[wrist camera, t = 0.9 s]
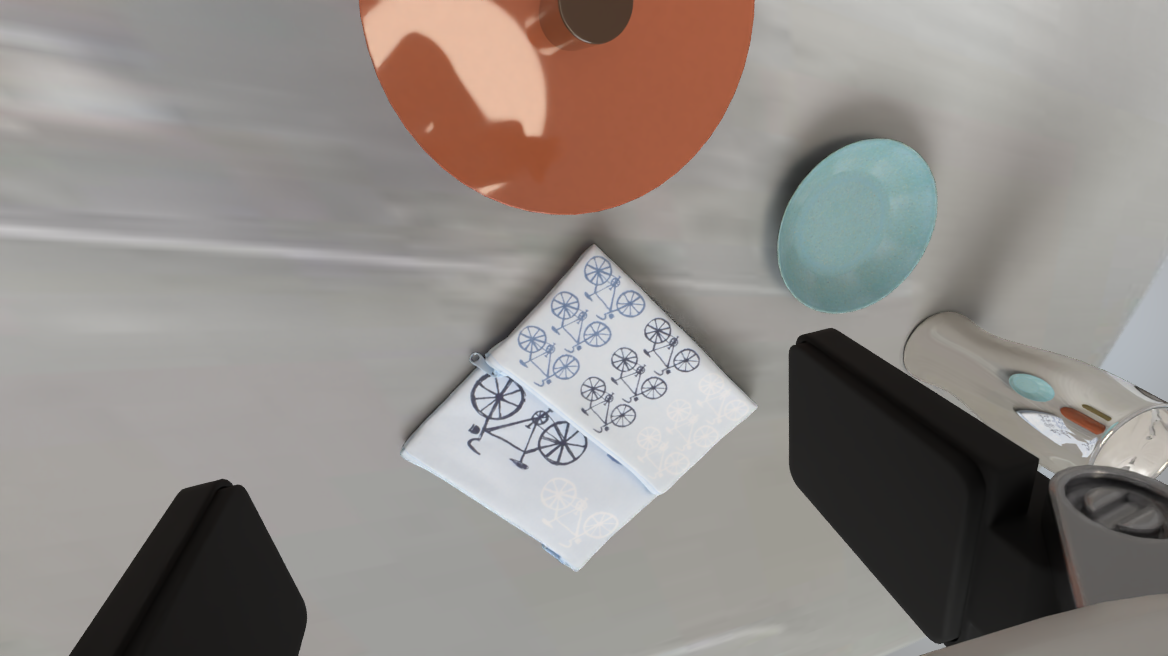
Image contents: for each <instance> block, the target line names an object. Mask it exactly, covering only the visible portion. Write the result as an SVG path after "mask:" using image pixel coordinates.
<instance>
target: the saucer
mask: <svg viewBox="0 0 1168 656" xmlns="http://www.w3.org/2000/svg"><path fill="white" fill-rule="evenodd" d="M936 217H937V189H936V184H935V179H934V177H933V175H932V172H931V170H930V168H929V166H928V165H927V163H926V162H925V160H924V159H923V158H922V157H921V156H920V155H919V154H918V153H917V152H916V151H915V150H914V149H912V148H911V147H909V146H908V145H906V144H903V142H900V141H897V140H892V139H886V138H873V139H865V140H861V141H857V142H854V143H851V144H849V145H846V146H844V147H842V148H840V149H838V150H837V151H835V152H833V153H831V154H830V155H828V156H827V157H826V158H825V159H823V160H822V161H821V162H820V163H819V164H818V165H816V166H815V167H814V168H813V169H812V170H811V171H810V172H809V173H808V175H807V176H806V177H805V178H804V179H803V181H802V182H801V183H800V184H799V186H798V187H797V189H796V191H795V192H794V194H793V195H792V197H791V199H790V201H789V202H788V204H787V207H786V210H785V212H784V215H783V217H782V221H781V224H780V229H779V234H778V242H777V257H778V264H779V269H780V272H781V275H782V279H783V280H784V283H785V284H786V286H787V288H788V290H789V291H790V292H791V293H792V294H793V296H794V297H795V298H796V299H797V300H798V301H800V302H801V303H802V304H804V305H806V306H807V307H809V308H812V309H813V310H815V311H816V310H817V311H820V312H824V313H830V314H831V313H832V314H838V313H847V312H853V311H856V310H859V309H863V308H865V307H868V306H870V305H872V304H874V303H876V302H878V301H880V300H881V299H883V298H884V297H886V296H887V295H888V294H890V293H891V292H892V291H893V290H894V289H896V288H897V287H898V286H899V285H900V284H901V283H902V282H903V281H904V280H905V279H906V278H907V277H908V276H909V275H910V273H911V272H912V270H913V269H914V268H915V267H916V265H917V264H918V262H919V261H920V259H921V257H922V256H923V254H924V252H925V250H926V248H927V246H928V244H929V241H930V239H931V236H932V232H933V230H934V227H935V222H936Z"/></svg>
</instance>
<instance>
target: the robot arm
mask: <svg viewBox="0 0 1168 656" xmlns="http://www.w3.org/2000/svg"><path fill="white" fill-rule="evenodd" d="M1038 463H1039V458H1038V457H1036V456H1034V455H1033V454H1031V453H1030V452H1028V451H1026V450H1025V449H1023V448H1022V447H1020V446H1019V445H1017V444H1015V443H1014V442H1012V441H1011V440H1009V439H1008V438H1006V437H1004V436H1003V435H1001V434H1000V433H998V432H997V431H995V430H993V429H992V428H990V427H989V426H987V425H986V424H984V423H982V422H981V421H979V420H978V419H976V418H975V417H973V416H971V415H970V414H968V413H967V412H965V411H964V410H962V409H960V408H959V407H957V406H956V405H954V404H953V403H951V402H949V401H948V400H946V399H945V398H943V397H942V396H940V395H938V394H937V393H935V392H934V391H932V390H930V389H929V388H927V387H926V386H924V385H923V384H921V383H919V382H918V381H916V380H915V379H913V378H912V377H910V376H908V375H907V374H905V373H904V372H902V371H901V370H899V369H897V368H896V367H894V366H893V365H891V364H890V363H888V362H886V361H885V360H883V359H882V358H880V357H879V356H877V355H875V354H874V353H872V352H871V351H869V350H868V349H866V348H864V347H863V346H861V345H860V344H858V343H857V342H855V341H853V340H852V339H850V338H849V337H847V336H846V335H844V334H842V333H841V332H839V331H838V330H836V329H833V328H828V329H824V330H820V331H816V332H812V333H808V334H804V335H801V336H799V337H798V339H797V341H796V345H793V346H792V347H791V348H790V350H789V467H790V472H791V475H792V478H793V480H794V482H795V483H796V485H797V486H798V488H799V489H800V490H801V491H802V492H803V493H804V494H805V496H806V497H807V498H808V499H809V500H810V501H811V503H812V504H813V505H814V506H815V507H816V508H817V510H818V511H819V512H820V513H821V514H822V515H823V517H824V518H825V519H826V520H827V521H828V522H829V523H830V525H831V526H832V527H833V528H834V529H835V530H836V532H837V533H838V534H839V535H840V536H841V537H842V539H843V540H844V541H845V542H846V543H847V544H848V546H849V547H850V548H851V549H852V550H853V551H854V553H855V554H856V555H857V556H858V557H859V558H860V559H861V561H862V562H863V563H864V564H865V565H866V566H867V568H868V569H869V570H870V571H871V572H872V573H873V575H874V576H875V577H876V578H877V579H878V580H879V582H880V583H881V584H882V585H883V586H884V587H885V588H886V590H887V591H888V592H889V593H890V594H891V595H892V597H893V598H894V599H895V600H896V601H897V602H898V604H899V605H900V606H901V607H902V608H903V609H904V611H905V612H906V613H907V614H908V615H909V616H910V617H911V619H912V620H913V621H914V622H915V623H916V624H917V626H918V627H919V628H920V629H921V630H922V631H923V633H924V634H925V635H926V636H927V637H928V638H929V639H930V640H932V641H933V642H935V643H938V644H941V643H944V645H945V646H946V647H945V648H942V649H939V650H935V651H932V652H929V653H926V654H923V655H920V656H1168V485H1166V484H1164V483H1162V482H1160V481H1158V480H1156V479H1153V478H1151V477H1148V476H1145V475H1142V474H1139V473H1136V472H1133V471H1129V470H1124V469H1120V468H1115V467H1110V466H1099V465H1081V466H1072V467H1068V468H1066V469H1063V470H1061V471H1058V472H1057V473H1056V474H1055V475H1054V476H1053V477H1052V478H1051V479H1049V478H1047V477H1046V476H1044V475H1043V474H1041V473H1040V472H1038V471H1037V468H1038ZM306 623H307V611H306V606H305V603H304V600H303V598H302V596H301V594H300V593H299V591H298V589H297V587H296V585H295V583H294V581H293V579H292V577H291V575H290V573H289V571H288V569H287V568H286V566H285V564H284V562H283V560H282V558H281V556H280V554H279V552H278V550H277V548H276V546H275V544H274V543H273V541H272V539H271V537H270V535H269V533H268V531H267V529H266V527H265V525H264V523H263V521H262V519H261V518H260V516H259V514H258V512H257V510H256V508H255V506H254V504H253V502H252V500H251V498H250V496H249V494H248V493H247V491H246V489H245V488H244V487H243V486H241V485H234V486H233V484H232V483H231V482H229V481H228V480H225V479H220V480H216V481H212V482H208V483H204V484H200V485H196V486H192V487H188V488H185V489H182V490H181V491H180V492H179V493H178V494H177V496H176V497H175V499H174V500H173V502H172V503H171V505H170V506H169V508H168V509H167V511H166V512H165V514H164V515H163V517H162V518H161V520H160V521H159V523H158V524H157V525H156V527H155V528H154V530H153V531H152V533H151V534H150V536H149V537H148V539H147V540H146V542H145V543H144V545H143V546H142V548H141V549H140V551H139V552H138V554H137V555H136V557H135V558H134V560H133V561H132V563H131V564H130V566H129V567H128V569H127V570H126V572H125V573H124V575H123V576H122V578H121V579H120V581H119V582H118V584H117V585H116V587H115V588H114V589H113V591H112V592H111V594H110V595H109V597H108V598H107V600H106V601H105V603H104V604H103V606H102V607H101V609H100V610H99V612H98V613H97V615H96V616H95V618H94V619H93V621H92V622H91V624H90V625H89V627H88V628H87V630H86V631H85V633H84V634H83V636H82V637H81V639H80V640H79V642H78V643H77V645H76V646H75V648H74V649H73V650H72V652H71V653H70V655H69V656H298V654H299V650H300V647H301V643H302V639H303V636H304V632H305V628H306Z"/></svg>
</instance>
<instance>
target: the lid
mask: <svg viewBox="0 0 1168 656" xmlns="http://www.w3.org/2000/svg"><path fill="white" fill-rule="evenodd" d="M754 1H755V0H359V7H360V17H361V21H362V26H363V30H364V35H365V40H366V44H367V48H368V51H369V54H370V57H371V60H372V63H373V66H374V69H375V72H376V74H377V77H378V79H379V81H380V83H381V85H382V87H383V90H384V92H385V94H386V96H387V98H388V100H389V102H390V104H391V106H392V107H393V109H394V110H395V112H396V113H397V115H398V117H399V118H400V120H401V121H402V123H403V125H404V126H405V128H406V129H407V130H408V131H409V133H410V134H411V135H412V136H413V138H414V139H415V140H416V141H417V143H418V144H419V145H420V146H421V147H422V149H423V150H424V151H425V152H426V153H427V154H428V155H429V156H430V157H431V158H432V159H434V160H435V161H436V162H437V163H438V164H439V165H440V166H441V167H442V168H443V169H444V170H446V171H447V172H448V173H450V174H451V175H452V176H454V177H455V178H456V179H457V180H459V181H460V182H461V183H463V184H464V185H466V186H468V187H470V188H471V189H473V190H475V191H477V192H478V193H480V194H482V195H484V196H485V197H488V198H490V199H493V200H495V201H497V202H500V203H502V204H505V205H507V206H511V207H515V208H518V209H522V210H526V211H529V212H536V213H544V214H551V215H577V214H584V213H592V212H598V211H602V210H606V209H609V208H613V207H617V206H620V205H622V204H625V203H627V202H630V201H632V200H634V199H637V198H639V197H641V196H643V195H645V194H646V193H648V192H650V191H651V190H653V189H655V188H657V187H658V186H660V185H661V184H663V183H664V182H665V181H667V180H668V179H669V178H671V177H672V176H673V175H675V174H676V173H677V172H678V171H679V170H680V169H681V168H683V167H684V166H685V165H686V164H687V163H688V162H689V161H690V160H691V159H692V158H693V157H694V156H695V155H696V154H697V152H698V151H699V150H700V149H701V147H702V146H703V145H704V144H705V143H706V141H707V140H708V139H709V138H710V136H711V135H712V133H713V132H714V130H715V128H716V127H717V125H718V124H719V122H720V121H721V119H722V118H723V116H724V114H725V112H726V110H727V108H728V106H729V104H730V102H731V100H732V98H733V96H734V94H735V91H736V88H737V86H738V83H739V80H740V78H741V75H742V72H743V69H744V66H745V62H746V58H747V54H748V50H749V46H750V41H751V33H752V26H753V19H754Z"/></svg>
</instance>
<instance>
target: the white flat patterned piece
mask: <svg viewBox="0 0 1168 656" xmlns="http://www.w3.org/2000/svg"><path fill="white" fill-rule="evenodd" d="M474 355H478V356H479V360H477V361H476V362H474V361H473V360H472V357H473V356H474ZM485 357H486V358H483V356H482V355H481V354H479V353H476V352H475V353H472V354H471V355H470V358H469V360H470V362H471V363H472V364H473V365H475V366H477V368H476V369H475V370H474V371H473V372H472V373H471V374H470V375H469V376H468V377H467V378H466V379H465V380H464V381H463V382H462V383H461V384H460V385H459V386H458V387H457V388H456V389H455V390H454V391H453V392H452V393H451V395H450V396H449V397H448V398H447V399H446V400H445V401H444V402H443V403H442V404H441V405H440V406H439V407H438V408H437V409H436V410H435V411H434V412H433V413H432V414H431V415H430V416H429V417H428V418H427V419H426V420H425V421H424V422H423V423H422V424H421V425H420V426H419V428H418V429H417V430H416V431H415V432H414V433H413V434H412V435H411V436H410V437H409V438H408V440H407V441H406V442H405V444H404V445H403V449H402V450H401V452H400V455H401V456H402V457H403V458H404V459H405V460H407V461H409V462H411V463H413V464H415V465H418V466H420V467H422V468H424V469H426V470H427V471H429V472H431V473H433V474H434V475H436V476H438V477H439V478H441V479H443V480H444V481H446V482H447V483H449V484H450V485H452V486H453V487H455V488H456V489H458V490H459V491H461V492H462V493H464V494H466V495H467V496H469V497H470V498H472V499H473V500H475V501H477V502H478V503H480V504H481V505H483V506H484V507H486V508H487V509H489V510H491V511H492V512H494V513H495V514H497V515H498V516H500V517H501V518H503V519H504V520H506V521H508V522H509V523H511V524H512V525H514V526H516V527H517V528H519V529H520V530H522V531H523V532H525V533H526V534H528V535H529V536H531V537H532V538H534V539H535V540H537V541H539V542H540V543H542V547H543V549H544V550H546V551H547V552H548V553H550V554H551V555H552V556H554V557H555V558H556V559H558V560H559V562H560V563H562V564H565V565H567V566H569V567H570V568H571V569H572V570H574V571H578V570H579V569H580V568H582V567H583V566H584V565H585V564H586V563H587V561H588V560H589V559H590V558H591V557H592V556H593V555H594V554H595V553H596V552H597V551H598V550H599V549H600V548H601V547H602V546H603V545H604V544H605V543H606V542H607V541H608V540H609V538H611V537H612V536H613V535H614V534H615V533H616V532H617V531H618V530H619V529H621V528H622V527H623V526H624V525H625V524H626V523H627V522H628V521H630V520H631V519H632V518H633V517H634V516H635V515H636V514H637V513H639V512H640V511H641V510H642V509H643V508H644V507H646V506H647V505H648V504H649V503H650V502H651V501H652V500H653V499H655V498H656V497H657V496H658V495H660V494H663V493H665V492H666V491H667V490H668V489H670V488H671V487H672V486H673V485H674V484H675V482H676V481H677V480H678V479H679V478H680V477H681V476H682V475H683V474H684V473H685V472H687V471H688V470H689V469H690V468H691V467H692V466H693V465H694V464H695V463H696V462H697V461H699V460H700V459H701V458H702V457H703V456H704V455H705V454H706V453H707V452H708V451H709V450H710V449H711V448H712V447H713V446H714V445H715V444H716V443H717V442H718V441H719V440H720V439H721V438H723V437H724V436H725V435H726V434H727V433H729V432H730V431H731V430H732V429H733V428H735V427H736V426H737V425H738V424H739V423H741V422H742V421H743V420H745V419H746V418H747V417H748V416H750V415H751V413H752V412H753V411H755V410H756V409H757V407H758V405H757V404H756V403H755V402H754V401H753V400H751V399H750V398H749V397H748V396H747V395H746V394H745V393H744V392H743V391H742V390H741V389H740V388H739V387H738V386H737V385H736V384H735V383H734V382H733V381H732V380H731V379H730V378H729V377H728V376H727V375H726V374H725V373H724V372H723V371H722V370H721V369H720V368H719V367H718V366H717V365H716V364H715V363H714V362H713V360H712V359H711V358H710V357H709V356H708V355H707V354H706V353H705V352H704V351H703V350H702V349H701V348H700V347H699V346H698V345H697V344H696V343H695V342H694V341H693V340H692V339H691V338H690V337H689V336H688V335H687V334H686V333H685V332H684V331H683V330H682V329H681V328H680V327H679V326H678V325H677V324H676V323H675V322H674V321H673V320H672V319H671V318H670V317H669V316H668V315H667V314H666V313H665V312H664V311H663V310H662V309H661V308H660V307H659V306H658V305H657V304H656V303H655V302H654V301H653V300H652V299H651V298H650V297H649V296H648V295H647V294H646V293H645V292H644V291H643V290H642V289H641V288H640V287H639V286H638V285H637V284H636V283H635V282H634V281H633V280H632V279H631V278H630V277H629V276H628V275H626V274H625V273H624V272H623V271H622V270H621V269H620V268H619V266H618V265H616V264H615V263H614V262H613V261H612V260H611V259H610V258H609V257H608V256H607V255H605V254H604V253H603V252H602V250H601V249H599V248H598V247H597V246H596V245H595V244H594V245H591V246H590V247H589V248H588V249H587V250H586V251H585V252H584V253H583V254H582V255H581V256H580V257H579V259H578V260H577V261H576V263H575V264H574V265H573V266H572V268H571V269H570V270H569V271H568V272H567V273H566V274H565V275H564V276H563V277H562V278H561V280H560V281H559V282H558V283H557V284H556V285H555V286H554V287H553V289H552V290H551V291H550V292H549V293H548V294H547V295H546V296H545V298H544V299H543V300H542V301H541V302H540V303H539V304H538V305H537V306H536V307H535V308H534V309H533V310H532V311H531V312H530V313H529V314H528V316H527V317H526V318H525V319H524V320H523V321H522V322H521V323H520V324H519V325H518V326H517V327H516V328H515V329H514V331H513V332H512V333H511V334H510V335H509V336H508V337H507V338H506V339H505V340H503V341H501V342H500V343H498V344H497V345H495V346H494V347H493V348H491V349H490V350H489V352H488V353H486V354H485ZM544 545H545V546H546V547H547V548H545V547H544Z"/></svg>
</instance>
